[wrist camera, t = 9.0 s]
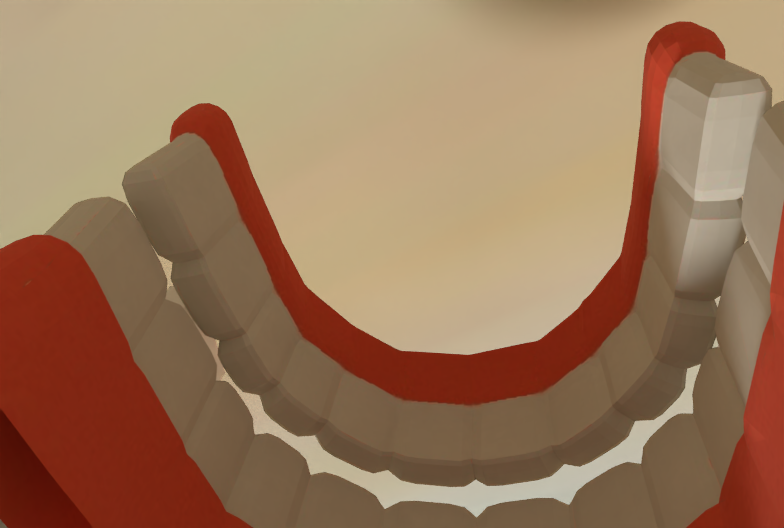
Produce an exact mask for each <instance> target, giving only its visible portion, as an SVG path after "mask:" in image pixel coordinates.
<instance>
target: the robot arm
mask: <svg viewBox="0 0 784 528" xmlns="http://www.w3.org/2000/svg"><path fill="white" fill-rule="evenodd" d="M165 299H167V300H169V301H172V302H174V303H177V304H180V305H181V306H182V307H183V309H184V310H185V311H186V312H187V314H188V315H189V316H190V318H191V319H192V317H191V315H190V314H189V312H188V310H187V309H186V307H185V305H184V304H183V302H182V300H181V299H180V297H179V295H178V294H177V292H176V290H175V287H174V286H170V287H169V289H168V290H167V292H166V298H165ZM192 320H193V319H192ZM193 322H194V320H193ZM194 324H195V325H196V327H197V329H198V330H199V332H200V334H201V335H202V337H203V339H204V340H205V342H206V344H207V345H208V347H209V349H210V350H211V352H212V354H213V357H214V359H215V361H216V364H217V376H216V381H221V379H222V377H223V375H224V373H225V372H224V368H223V366H222V364H221V362H220V360H219V358H218V355H217V354H218V348H217V344H216V341H215V339H214V338H211V337H208V336H205V335H204V333H203V332H202V331H201V330H200V328H199V327H198V326H197V324H196V323H195V322H194ZM718 347H719V345H718ZM0 528H8V527H7V526H6V525H5V524H4V523H3V522H2V521H1V520H0Z"/></svg>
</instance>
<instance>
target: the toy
mask: <svg viewBox="0 0 784 528" xmlns="http://www.w3.org/2000/svg"><path fill="white" fill-rule="evenodd" d="M122 186H123V189H124V192H125V195H126V198H127V200H128V203H129V205H130V207H131V208H132V210H133V212H134V214H135V216H136V217H135V216H134V215H133V213H132V212H131V210H130V209H129V208H128V206H127V205H126V204H125V203H123V202H121V201H118V200H116V199H113V198H111V197H101V198H91V199H87V200H84V201H81V202H78V203H76V204H74V205H73V206H72V207H71V208H70V209H69V210H68V211H67V212H66V213H65V214H64V215H63V216H62V217H61V218H60V219H59V220H58V221H57V222H56V223H55V224H54V225H53V226H52V227H51V228H50V229H49V230H48V231H47V232H46V233H45V234H44V235H32V236H29V237H26V238H23V239H20V240H17V241H15V242H13V243H11V244H9V245H7V246H5V247H4V248H2V249H0V520H1V521H2V522H3V523H4V524H5V525H6V526H7V527H8V528H784V101H781V102H779V103H777V104H775V105H774V106H773V107H772V88H771V87H770V85H769V84H768V83H767V81H766V80H765V78H764V77H763V76H761V75H758V74H756V73H754V72H751V71H749V70H747V69H744V68H742V67H740V66H737V65H735V64H733V63H730V62H728V61H726V60H725V49H724V46H723V44H722V42H721V41H720V40H719V38H718V37H717V36H716V34H715V33H714V32H712V31H711V30H709V29H706V28H704V27H702V26H699V25H697V24H695V23H692V22H676V23H672V24H669V25H666V26H664V27H663V28H662V29H660V30H659V31H657V32H656V33H655V34H654V36H653V37H652V38H651V40H650V41H649V43H648V46H647V50H646V55H645V61H644V74H643V87H642V100H641V121H640V130H639V139H638V147H637V156H636V165H635V173H634V182H633V190H632V200H631V206H630V211H629V217H628V222H627V227H626V232H625V237H624V242H623V247H622V253H621V255H620V257H619V259H618V260H617V261H616V262H615V264H614V265H613V266H612V267H611V269H610V270H609V271H608V273H607V274H606V275H605V276H604V278H603V279H602V280H601V281H600V283H599V284H598V285H597V286H596V288H595V289H594V290H593V291H592V293H591V294H590V295H589V296H588V297H587V298H586V299H585V300H584V301H583V302H582V304H581V305H580V307H579V308H578V309H577V310H576V311H575V312H573V313H572V314H571V315H570V316H569V317H568V318H566V319H565V320H564V321H563V322H561V323H560V324H559V325H558V326H557V327H555V328H554V329H553V330H552V331H550V332H549V333H548V334H547V335H545V336H544V337H543V338H541V339H540V340H538V341H535V342H530V343H524V344H519V345H515V346H510V347H505V348H500V349H496V350H491V351H486V352H481V353H477V354H472V355H460V354H444V353H428V352H411V351H400V350H397V349H395V348H393V347H391V346H389V345H388V344H386V343H384V342H382V341H380V340H378V339H376V338H375V337H373V336H371V335H369V334H367V333H365V332H364V331H362V330H360V329H358V328H356V327H355V326H353V325H352V324H350V323H349V322H348V321H347V320H345V319H344V318H343V317H342V316H341V315H339V314H338V313H337V312H336V311H335V310H333V309H332V308H331V307H330V306H329V305H327V304H326V303H325V302H324V301H322V300H321V299H320V298H319V297H318V296H316V295H315V294H314V293H313V292H312V291H311V290H309V289H308V288H307V286H306V285H305V284H304V282H303V280H302V279H301V277H300V275H299V273H298V271H297V269H296V267H295V265H294V263H293V262H292V260H291V258H290V256H289V254H288V252H287V250H286V248H285V247H284V245H283V243H282V241H281V238H280V236H279V233H278V231H277V229H276V226H275V224H274V222H273V220H272V217H271V215H270V213H269V211H268V208H267V206H266V204H265V202H264V199H263V197H262V195H261V193H260V190H259V188H258V186H257V184H256V181H255V179H254V177H253V175H252V172H251V170H250V167H249V164H248V161H247V158H246V156H245V153H244V151H243V148H242V146H241V143H240V141H239V138H238V136H237V133H236V131H235V128H234V126H233V123H232V121H231V119H230V118H229V116H228V115H227V113H226V112H225V111H224V110H222V109H221V108H220V107H218V106H215V105H212V104H210V103H204V104H198V105H195V106H193V107H191V108H190V109H188V110H187V111H185V112H184V113H183V114H181V115H180V116H179V117H178V118H177V119H176V120H175V121H174V123H173V125H172V128H171V135H170V143H169V144H168V145H166V146H165V147H163V148H161V149H160V150H158V151H157V152H155V153H153V154H152V155H150V156H149V157H147V158H145V159H144V160H142V161H141V162H139V163H137V164H136V165H134V166H133V167H132V168H130V169H129V170H128V171H127V172H125V175H124V179H123V182H122ZM742 196H743V201H742V198H741V197H742ZM136 218H137V219H136ZM746 236H747V239H748V241H747V242H746V243H745V244H744V241H745V238H746ZM150 243H151V244H150ZM151 245H152V246H153V247H152V246H151ZM153 248H154V249H155V251H156V252H157V254H158V255H159V256H161V257H163V258H165V259H167V260H169V261H171V262H173V264H172V272H171V280H172V283H173V285H174V287H175V290H176V292H177V294H178V295H179V297H180V299H181V300H182V302H183V304H184V305H185V307H186V309H187V310H188V312H189V314H190V315H191V317H192V319H193V320H194V322H195V323H196V324H197V326H198V327H199V328H200V330H201V331H202V332H203V333H204V335H205V336H208V337H211V338H214V339H217V340H220V341H219V348H218V354H217V355H218V358H219V360H220V362H221V364H222V366H223V367H224V369H225V370H226V372H227V373H228V374H229V376H230V377H231V379H232V380H233V382H234V383H235V384H236V385H237V386H238V387H239V388H240V389H241V390H242V391H243V392H246V393H251V394H256V395H259V396H260V399H261V401H262V405H263V408H264V411H265V413H266V414H267V415H268V416H269V417H270V418H271V419H272V420H273V421H275V422H276V423H277V424H279V425H280V426H281V427H283V428H284V429H285V430H287V431H288V432H290V433H292V434H294V435H296V436H315V437H316V438H317V440H318V442H319V443H320V445H321V446H322V448H323V449H324V450H325V451H327V452H328V453H330V454H331V455H333V456H334V457H337V458H339V459H341V460H343V461H345V462H347V463H349V464H351V465H353V466H355V467H357V468H359V469H361V470H365V471H368V472H371V473H377V472H381V471H385V470H389V471H390V472H391V473H392V474H394V475H395V476H396V477H397V478H399V479H400V480H401V481H406V482H410V483H415V484H425V485H436V486H447V487H464V486H466V485H468V484H470V483H471V482H473V481H474V480H475V479H476V480H478V481H479V482H481V483H483V484H485V485H487V486H499V485H508V484H515V483H521V482H528V481H535V480H539V479H543V478H546V477H550V476H552V475H553V474H554V473H555V472H557V471H558V470H559V469H560V468H561V467H562V466H563V465H564V464H568V465H573V466H579V467H580V466H582V465H585V464H587V463H589V462H592V461H593V460H595V459H596V458H598V457H600V456H601V455H603V454H605V453H606V452H608V451H609V450H611V449H613V448H614V447H616V446H617V445H619V444H620V443H621V442H622V441H623V440H625V439H626V438H627V437H628V436H629V433H630V431H631V429H632V427H633V424H634V422H635V421H640V420H654V419H656V418H657V417H659V416H660V415H662V414H663V413H664V412H665V411H666V410H667V409H668V408H669V407H670V406H671V405H672V404H673V403H674V402H675V401H676V400H677V399H678V398H679V397H680V395H681V393H682V392H683V390H684V389H685V381H686V372H687V368H690V367H693V366H696V365H699V364H701V366H700V369H699V372H698V375H697V378H696V381H695V384H694V389H693V394H692V395H693V414H677V415H676V416H674V417H672V418H671V419H669V420H668V421H667V422H666V423H665V424H664V425H663V426H661V427H660V428H659V429H658V430H657V431H656V432H655V433H654V434H653V435H652V436H651V437H650V438H649V440H648V441H647V443H646V444H645V445H644V447H643V455H642V463H641V464H637V463H630V462H626V463H623V464H620V465H618V466H615V467H613V468H611V469H609V470H608V471H606V472H604V473H603V474H601V475H599V476H598V477H596V478H595V479H593V480H591V481H590V482H588V483H586V484H585V485H584V486H583V487H582V488H580V489H579V490H578V491H577V492H576V494H575V496H574V498H573V500H572V502H571V503H570V505H567V504H565V503H563V502H560V501H558V500H556V499H554V498H534V499H527V500H519V501H512V502H504V503H499V504H496V505H492V506H489V507H487V508H486V509H485V510H484V511H483V512H482V513H481V514H480V515H479V516H478V517H477V518H476V517H475V516H474V515H473V514H472V513H471V512H469V511H468V510H467V509H466V508H465V507H460V506H456V505H452V504H444V503H433V502H422V501H402V502H399V503H397V504H395V505H393V506H391V507H389V508H386V509H384V508H383V506H382V505H381V504H380V502H379V500H378V499H377V497H376V496H375V495H373V494H372V493H370V492H369V491H367V490H366V489H364V488H362V487H360V486H358V485H356V484H354V483H351V482H349V481H347V480H345V479H343V478H341V477H339V476H336V475H333V474H329V473H326V472H323V473H318V474H313V475H310V472H309V469H308V465H307V462H306V459H305V458H304V457H303V456H302V455H301V454H300V453H299V452H298V451H297V450H295V449H294V448H293V447H291V446H290V445H288V444H287V443H285V442H284V441H283V440H281V439H280V438H278V437H276V436H274V435H271V434H268V433H266V434H257V435H255V434H254V429H253V418H252V416H251V414H250V412H249V410H248V408H247V406H246V405H245V403H244V402H243V400H242V399H241V397H240V396H239V394H238V393H237V391H236V390H235V389H234V388H233V387H232V386H231V385H230V384H229V383H228V382H226V381H216V376H217V364H216V361H215V359H214V357H213V354H212V352H211V350H210V349H209V347H208V345H207V344H206V342H205V340H204V339H203V337H202V335H201V334H200V332H199V330H198V329H197V327H196V325H195V324H194V322H193V320H192V319H191V318H190V316H189V315H188V314H187V312H186V311H185V310H184V309H183V307H182V306H181V305H180V304H177V303H174V302H172V301H169V300H167V299H165V298H166V292H167V278H166V275H165V273H164V270H163V268H162V265H161V263H160V261H159V259H158V257H157V255H156V253H155V251H154V249H153ZM719 296H721V297H720V301H719V305H718V307H717V305H716V303H715V300H714V299H716V298H717V297H719ZM716 337H717V341H718V344H719V347H715V348H712V346H713V344H714V341H715V338H716Z"/></svg>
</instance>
